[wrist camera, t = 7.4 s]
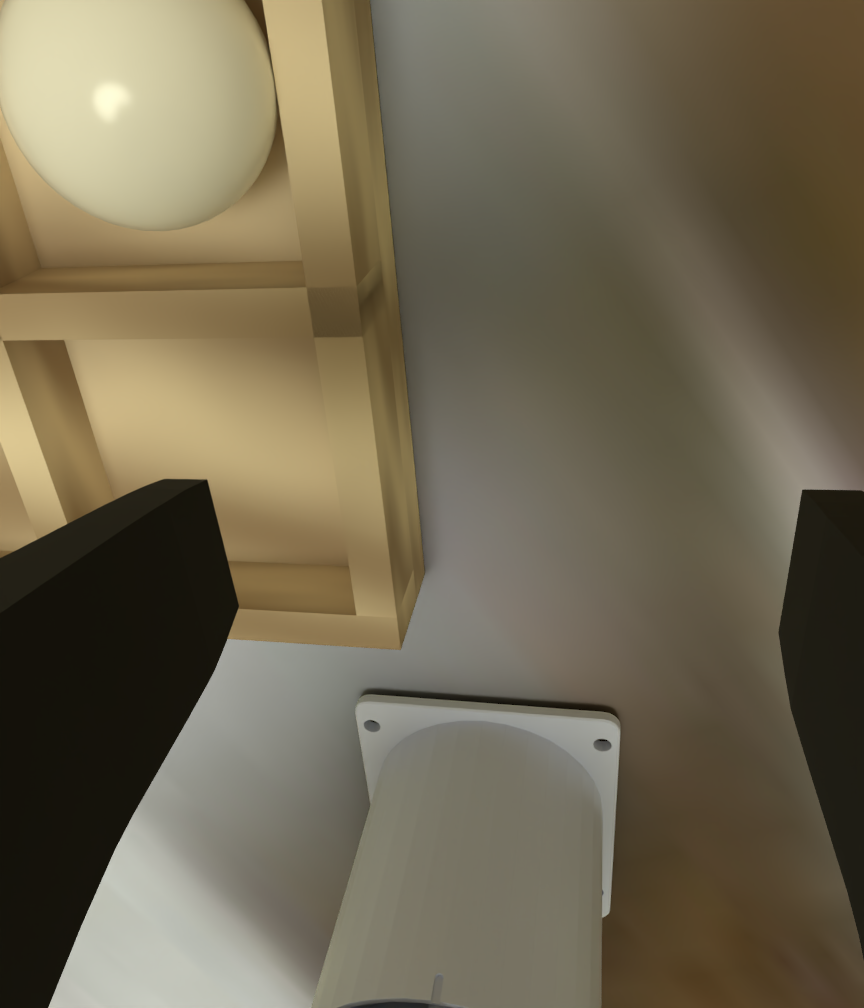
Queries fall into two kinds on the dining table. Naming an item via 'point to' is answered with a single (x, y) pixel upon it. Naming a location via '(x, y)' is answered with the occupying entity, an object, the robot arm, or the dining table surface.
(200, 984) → the dining table surface
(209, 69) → the white egg
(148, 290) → the egg rack
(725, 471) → the dining table surface
